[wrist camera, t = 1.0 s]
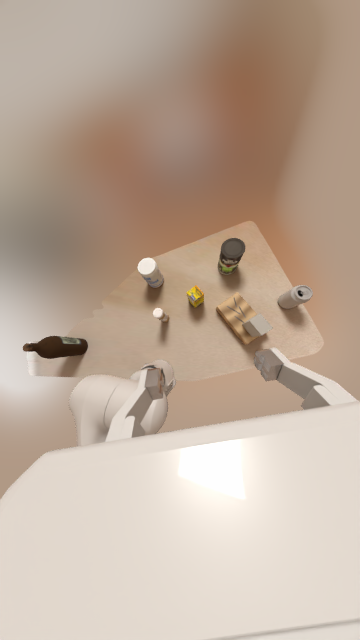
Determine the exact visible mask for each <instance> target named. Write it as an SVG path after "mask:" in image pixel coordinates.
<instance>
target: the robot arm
mask: <svg viewBox="0 0 360 640" xmlns="http://www.w3.org/2000/svg"><path fill="white" fill-rule="evenodd" d="M255 355H256V357H255V358H254V364H255V366H256V368H257V369H258V370H260V371H261V375H262V376H263V378H264V379H265V381H270V380H277V381H279V382H280V383H282V384H283V385H285V386H286V387H287V388H289V389H290V390H292V391H293V392H295V393H296V394H297V395H299V396H301V397H302V398H303V399H305V400H304V401H303V403H302V405H301V406H302V407H303V409H304V410H299V411H293V412H287V413H281V414H275V415H269V416H262V417H256V418H250V419H245V420H238V421H232V422H225V423H219V424H213V425H207V426H201V427H195V428H188V429H182V430H176V431H170V432H164V433H158V434H155V433H156V432H158V430H159V429H160V428H161V427H162V425H163V423H164V421H165V419H166V416H167V411H168V402H167V398H166V397H167V395H168V394H169V392H170V391H171V390H172V388H173V387H174V386H175V384H176V381H175V379H174V376H173V370H172V367H171V366H170V364H169V363H168V362H166V361H164V360H155V361H153V362H152V363H147V364H145V365H144V367H143V368H142V369H141V370H139V371H137V372H135V373H133V374H132V375H131V377H130V378H129V379H124V378H120V377H116V376H111V375H101V374H100V375H89V376H87V377H85V378H84V379H83V380H81V381H80V382H79V383H78V384H77V385H76V387H75V388H74V389H73V391H72V393H71V396H70V399H69V408H70V410H71V412H72V414H73V416H74V420H75V424H76V433H77V447H71V448H65V449H59V450H53V451H50V452H47V453H45V454H43V455H42V456H41V457H40V458H39V459H38V460H37V461H36V462H34V463H33V464H32V465H31V466H30V467H29V468H28V469H27V470H26V471H25V472H24V473H23V474H22V475H21V476H20V477H19V478H18V479H17V480H16V481H15V482H14V483H13V484H12V485H11V486H10V488H9V489H8V490H7V491H6V492H5V494H4V495H3V497H2V498H1V500H0V640H360V401H357V400H356V399H355V398H354V397H353V396H351V395H350V394H349V393H348V392H347V391H346V390H344V389H343V388H342V387H341V386H339V385H338V384H337V383H336V382H334V381H332V380H330V379H327V378H326V377H324V376H321V375H319V374H317V373H315V372H312V371H310V370H308V369H306V368H304V367H302V366H299V365H297V364H295V363H291V362H290V361H289V360H288V359H287V358H286V357H285V356H284V355H283V354H282V353H281V352H280V351H279V350H278V349H277V348H271V349H264V350H259V351H256V352H255ZM171 384H173V385H171Z"/></svg>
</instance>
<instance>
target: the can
mask: <svg viewBox="0 0 360 640" xmlns="http://www.w3.org/2000/svg"><path fill="white" fill-rule="evenodd" d="M312 294H313V292H312V290H311V288H310V287H308V286H305V285H300V286H296V287H294V288H292V289H290V290H289V291H287V292H286V293H284V294H283V295H281V296H280V297H279V298H278V303H279V305H280V306H281V307H283V308H285V309H290V308H293V307H295V306H297V305H300V304H302V303H305V302H307V301H308V300H310V298H311V297H312Z"/></svg>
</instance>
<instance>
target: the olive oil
mask: <svg viewBox="0 0 360 640" xmlns="http://www.w3.org/2000/svg"><path fill="white" fill-rule="evenodd" d="M87 346H88V345H87V342H86V340H84V339H78V338H68V337H60V336H50V337H46V338H44V339H42V340H41V341H40V342H38V343H30V344H25V345H24V346H23V350H24V351H29V352H30V351H36V352H37V353H38V354H39V355H40V356H41V357H43V358H48V359H52V358H59V357H67V356H75V355H82V354H84V353H85V352H86V350H87Z"/></svg>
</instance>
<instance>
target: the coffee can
mask: <svg viewBox="0 0 360 640" xmlns="http://www.w3.org/2000/svg"><path fill="white" fill-rule="evenodd" d="M244 252H245V244H244V242H243V241H242V240H240V239H237V238H230V239H228V240H226V241H225V242H224V243H223V244H222V247H221V253H220V258H219V263H218V270H219V271H220V272H221V273H222V274H225V275H229V274H232V273H234V272H235V270H236V268H237V266H238V264H239V262H240V259H241V257H242V255H243V253H244Z"/></svg>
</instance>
